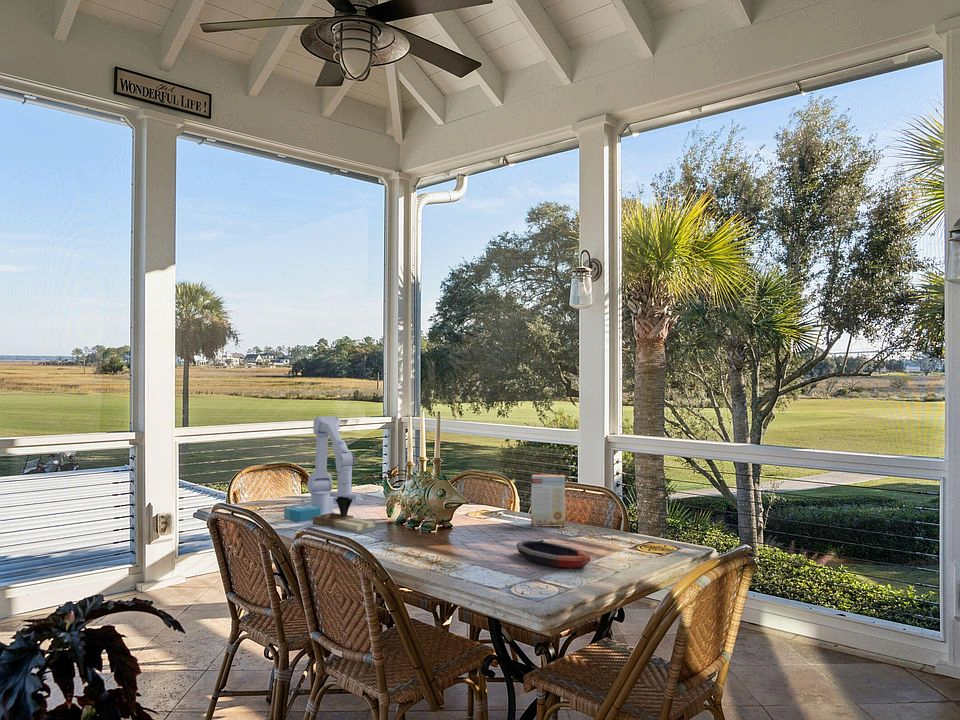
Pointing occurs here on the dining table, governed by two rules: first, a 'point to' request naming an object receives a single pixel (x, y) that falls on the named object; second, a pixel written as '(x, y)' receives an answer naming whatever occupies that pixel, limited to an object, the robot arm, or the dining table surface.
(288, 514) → the data package
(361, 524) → the cover plate
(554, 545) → the dish
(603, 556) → the dining table surface
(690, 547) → the dining table surface
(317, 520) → the walnut box
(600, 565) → the dining table surface
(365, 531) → the rubber mat
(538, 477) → the cracker box
